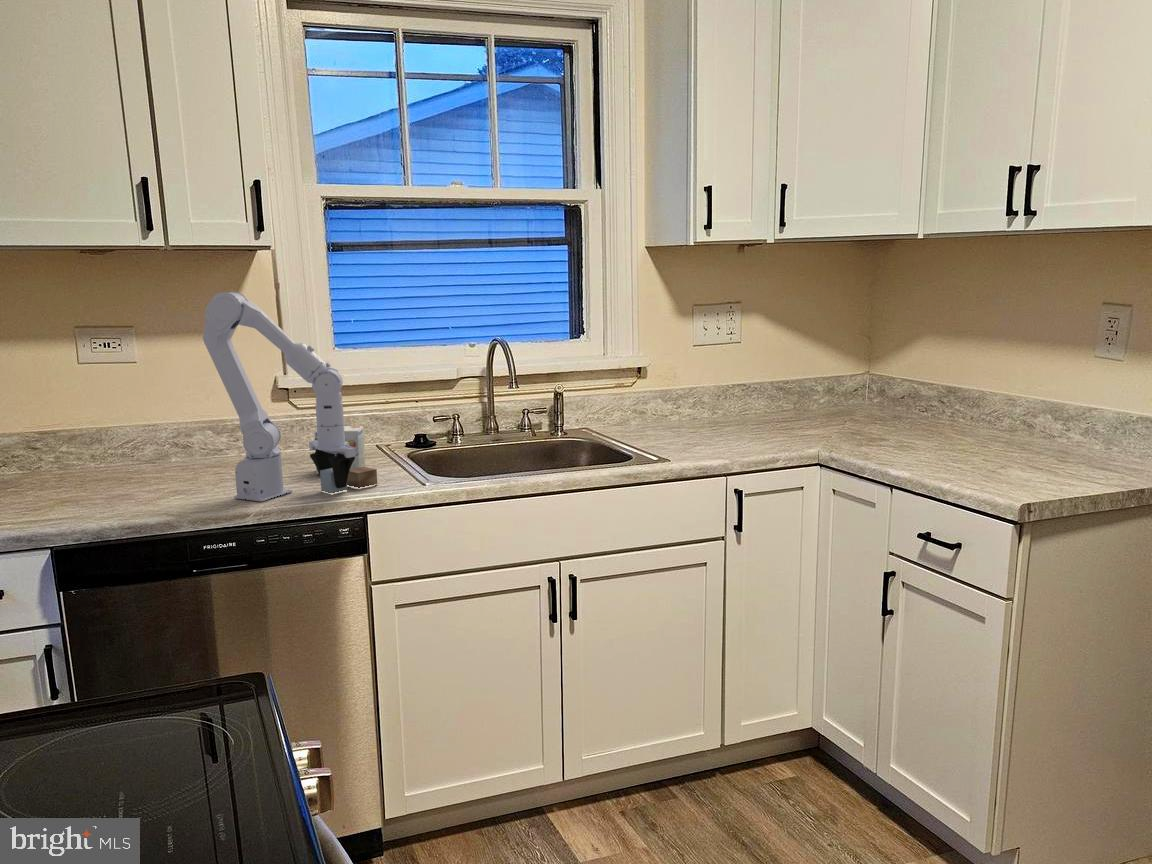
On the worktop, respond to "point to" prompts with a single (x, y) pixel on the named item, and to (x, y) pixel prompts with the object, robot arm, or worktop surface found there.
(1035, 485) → the worktop surface
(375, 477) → the walnut block
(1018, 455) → the worktop surface
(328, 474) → the slate block
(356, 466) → the light bulb box
